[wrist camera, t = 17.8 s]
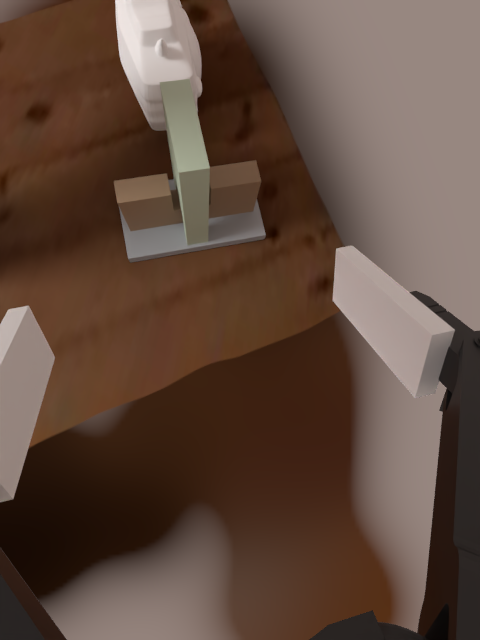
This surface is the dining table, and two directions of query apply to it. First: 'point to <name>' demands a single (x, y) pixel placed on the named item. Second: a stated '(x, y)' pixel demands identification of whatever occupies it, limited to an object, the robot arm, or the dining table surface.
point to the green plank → (187, 158)
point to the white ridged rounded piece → (157, 51)
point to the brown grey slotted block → (166, 216)
